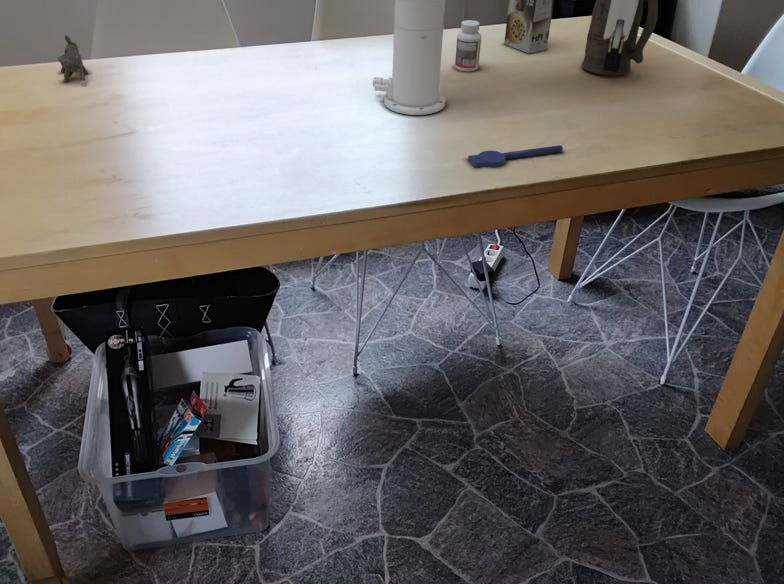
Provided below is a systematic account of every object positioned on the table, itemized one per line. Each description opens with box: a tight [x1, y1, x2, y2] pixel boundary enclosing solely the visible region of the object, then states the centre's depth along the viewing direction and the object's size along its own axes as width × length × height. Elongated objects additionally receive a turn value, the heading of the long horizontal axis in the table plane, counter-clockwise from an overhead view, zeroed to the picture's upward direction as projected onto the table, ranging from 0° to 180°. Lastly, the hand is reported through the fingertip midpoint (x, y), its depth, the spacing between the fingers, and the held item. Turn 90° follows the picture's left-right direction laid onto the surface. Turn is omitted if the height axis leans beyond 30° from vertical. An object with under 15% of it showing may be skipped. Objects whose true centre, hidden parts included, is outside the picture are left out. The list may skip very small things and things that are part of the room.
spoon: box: [467, 144, 564, 168], centre depth 130 cm, size 18×5×1 cm, turn 108°
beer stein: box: [581, 0, 659, 76], centre depth 159 cm, size 15×11×20 cm
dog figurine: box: [57, 34, 89, 83], centre depth 156 cm, size 12×6×7 cm, turn 16°
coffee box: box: [503, 0, 555, 54], centre depth 173 cm, size 9×6×16 cm
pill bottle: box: [454, 19, 482, 72], centre depth 163 cm, size 5×5×10 cm
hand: (610, 70), depth 159 cm, fingers closed
